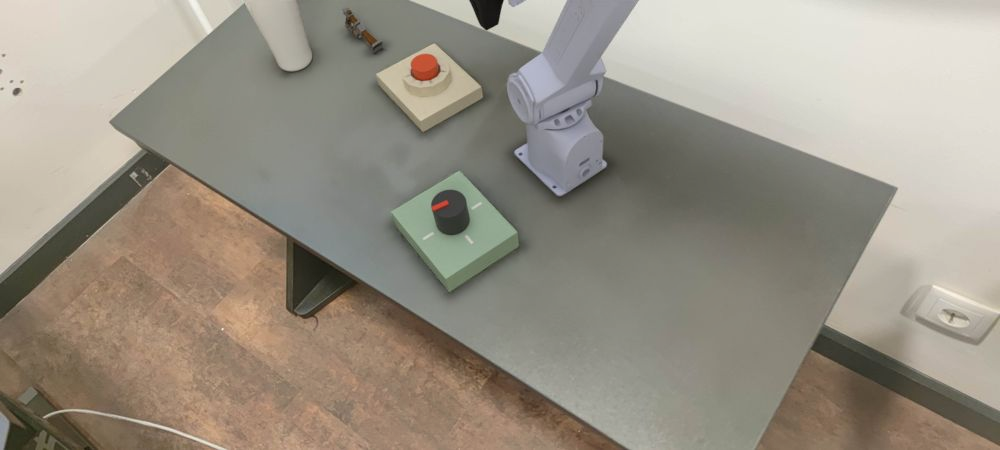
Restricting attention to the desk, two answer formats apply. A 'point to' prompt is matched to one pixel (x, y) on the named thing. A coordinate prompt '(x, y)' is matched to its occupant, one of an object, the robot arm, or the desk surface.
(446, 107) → the push button base
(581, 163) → the robot arm
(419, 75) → the power button
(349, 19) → the wooden post with brackets
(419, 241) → the dial panel
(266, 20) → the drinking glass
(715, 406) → the desk surface
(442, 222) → the dial
